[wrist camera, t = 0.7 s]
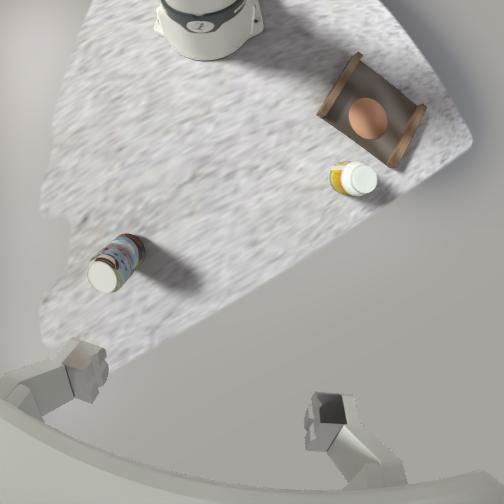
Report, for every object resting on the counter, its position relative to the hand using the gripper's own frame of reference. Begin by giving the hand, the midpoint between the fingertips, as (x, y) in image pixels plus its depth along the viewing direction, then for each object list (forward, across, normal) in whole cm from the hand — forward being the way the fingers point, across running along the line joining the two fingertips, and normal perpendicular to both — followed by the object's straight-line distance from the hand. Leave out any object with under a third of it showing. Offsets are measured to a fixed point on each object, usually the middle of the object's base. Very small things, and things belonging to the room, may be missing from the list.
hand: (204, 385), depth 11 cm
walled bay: (+47, -17, -18) cm, 53 cm away
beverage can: (+38, +21, +13) cm, 45 cm away
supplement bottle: (+45, -13, -4) cm, 47 cm away
